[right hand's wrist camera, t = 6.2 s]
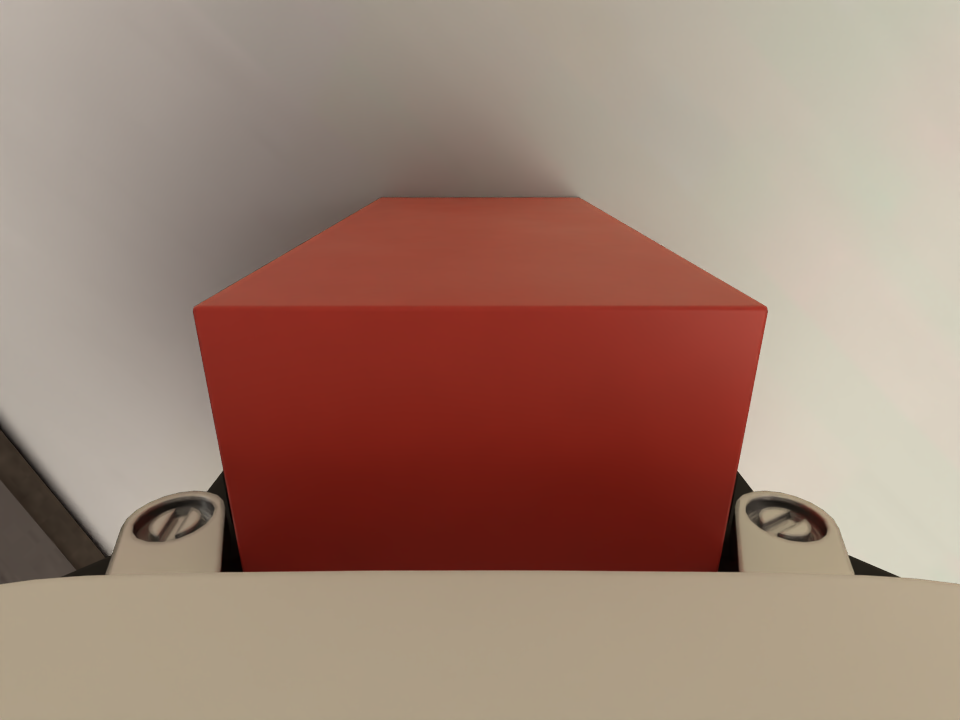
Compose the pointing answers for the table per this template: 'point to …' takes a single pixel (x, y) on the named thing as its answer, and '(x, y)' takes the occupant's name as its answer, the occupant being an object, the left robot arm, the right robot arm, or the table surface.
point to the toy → (36, 526)
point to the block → (480, 394)
